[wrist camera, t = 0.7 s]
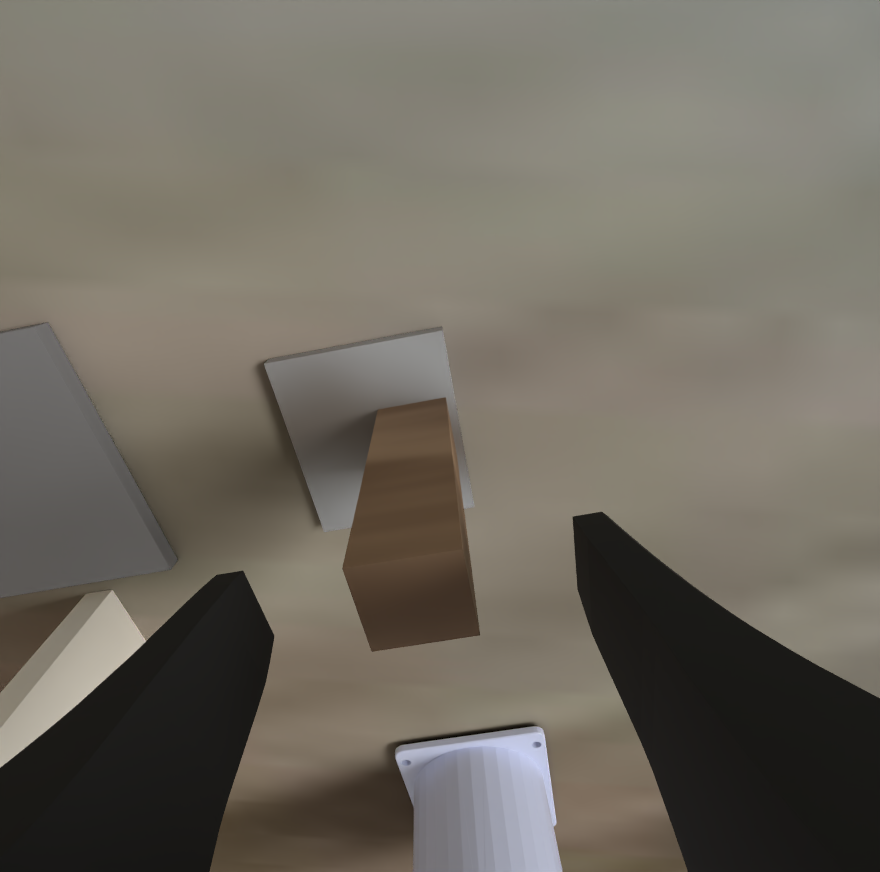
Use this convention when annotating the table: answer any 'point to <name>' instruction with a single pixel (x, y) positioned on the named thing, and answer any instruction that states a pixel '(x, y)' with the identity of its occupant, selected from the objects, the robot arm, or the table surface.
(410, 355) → the turner
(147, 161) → the table surface
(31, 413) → the mat
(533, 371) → the table surface
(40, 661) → the tile
